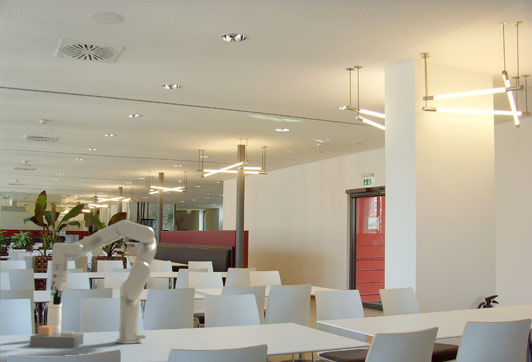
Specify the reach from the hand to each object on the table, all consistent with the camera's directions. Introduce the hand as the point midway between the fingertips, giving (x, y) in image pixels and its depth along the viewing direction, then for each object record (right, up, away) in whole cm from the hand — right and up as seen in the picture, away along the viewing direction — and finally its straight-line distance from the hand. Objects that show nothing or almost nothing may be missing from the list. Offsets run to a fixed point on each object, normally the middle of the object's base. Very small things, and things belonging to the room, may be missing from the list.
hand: (56, 304), depth 305 cm
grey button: (+7, -18, -2) cm, 20 cm away
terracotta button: (-5, -16, -1) cm, 17 cm away
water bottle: (-7, -22, +15) cm, 27 cm away
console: (+1, -20, -2) cm, 20 cm away
